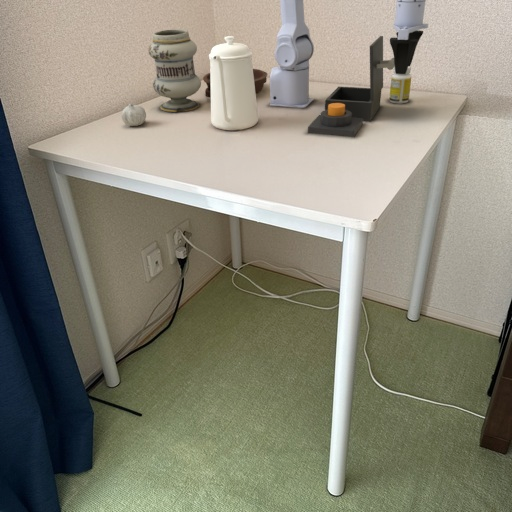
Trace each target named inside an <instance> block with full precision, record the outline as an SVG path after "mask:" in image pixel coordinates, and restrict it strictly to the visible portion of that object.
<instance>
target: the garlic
mask: <svg viewBox="0 0 512 512" xmlns="http://www.w3.org/2000/svg"><path fill="white" fill-rule="evenodd" d="M121 119H122V120H121V121H122V122H123V123H124V124H125V126H126V125H127V126H129V127H137V126H140V125H142V124H144V123H145V122H146V119H147V112H146V110H145V108H144V107H142V106H141V105H138V104H133V103H131V102H129V104H128V105H127V106H125V107H124V108H123V109H122V113H121Z"/></svg>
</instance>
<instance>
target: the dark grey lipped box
mask: <svg viewBox="0 0 512 512" xmlns="http://www.w3.org/2000/svg"><path fill="white" fill-rule="evenodd" d="M382 89H383V88H382ZM382 89H381V91H380V92H379V94H378V95H377V96H376V98H375V99H374V101H370V87H357V86H355V87H354V86H337V87H336V88H335V89H334V91H332V93H331V94H330V95H328V96H327V98H326V99H324V100H325V101H324V111H325V110H328V105H329V104H332V103H342V104H345V110H348V111H350V112H351V113H352V117H356V118H363V122H367V123H369V122H372V120H373V118H374V116H375V115H376V113H377V112H378V110H379V109H380V107H381V100H382V99H381V98H382Z"/></svg>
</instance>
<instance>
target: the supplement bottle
mask: <svg viewBox="0 0 512 512" xmlns="http://www.w3.org/2000/svg"><path fill="white" fill-rule="evenodd" d="M411 67H412V66H411V65H410V66H408V69H407V71H406V74H396V73H395V67H394V68H393V74H392V75H391V76H390V77H391V78H390V88H389V98H388V99H389V100H388V101H389V102H390V103H392V104H399V105H400V104H406V103H408V102H409V99H410V92H411V84H412V74H410V73H411V70H412V68H411Z"/></svg>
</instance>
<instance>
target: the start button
mask: <svg viewBox="0 0 512 512" xmlns="http://www.w3.org/2000/svg"><path fill="white" fill-rule="evenodd" d="M328 115H330V116H342V115H345V104H342V103H332V104H329V105H328Z"/></svg>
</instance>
